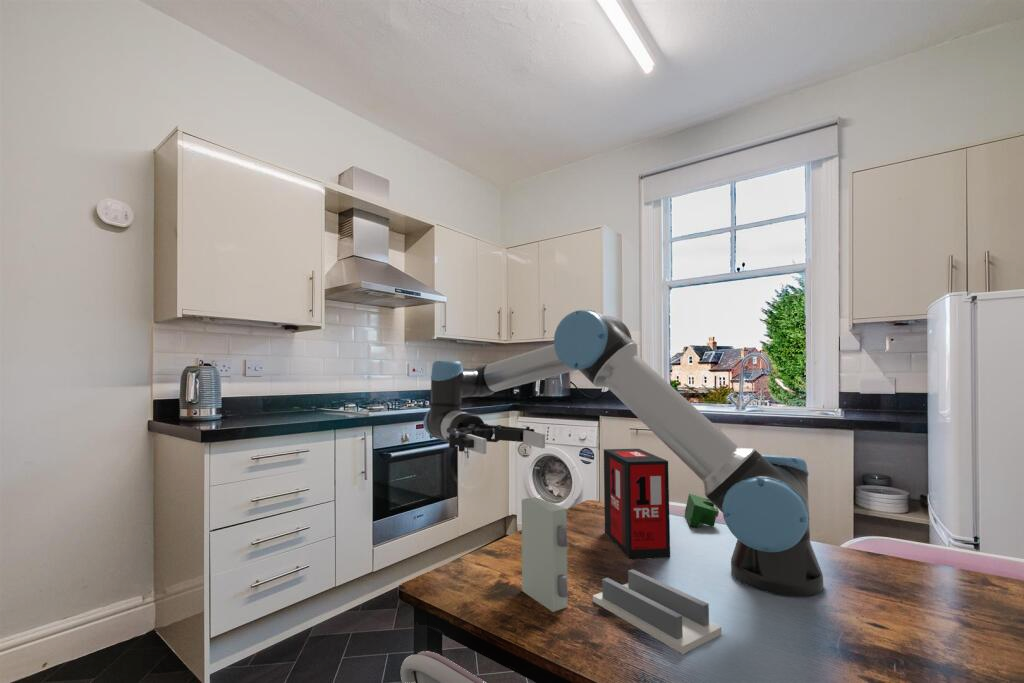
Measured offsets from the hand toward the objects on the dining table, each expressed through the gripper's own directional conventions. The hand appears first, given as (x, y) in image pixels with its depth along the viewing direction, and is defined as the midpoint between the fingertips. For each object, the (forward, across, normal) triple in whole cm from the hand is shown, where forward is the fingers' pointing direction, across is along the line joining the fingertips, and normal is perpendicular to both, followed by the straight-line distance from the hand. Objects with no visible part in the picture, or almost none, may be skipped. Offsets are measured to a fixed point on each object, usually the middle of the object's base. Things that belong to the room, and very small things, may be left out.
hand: (515, 443), depth 91 cm
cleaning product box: (+1, -33, -25) cm, 41 cm away
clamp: (0, -59, -25) cm, 64 cm away
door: (+10, 0, -25) cm, 27 cm away
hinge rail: (+24, -11, -24) cm, 36 cm away
